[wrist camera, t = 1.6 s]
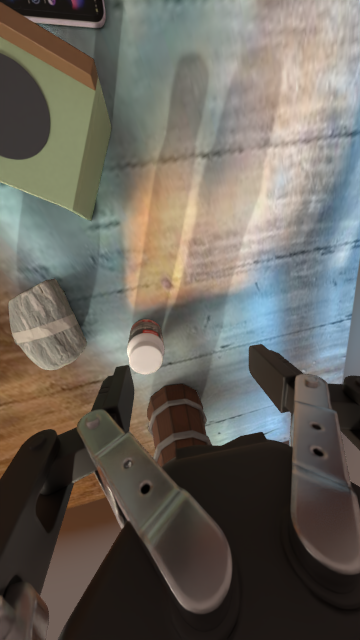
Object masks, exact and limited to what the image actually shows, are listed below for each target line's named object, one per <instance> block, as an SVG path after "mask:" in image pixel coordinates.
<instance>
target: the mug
mask: <svg viewBox="0 0 360 640" xmlns="http://www.w3.org/2000/svg"><path fill="white" fill-rule="evenodd" d="M147 417H148V419H149V421H150V422H149V426H148V430H149V432H150V433H151V435H152V437H153V439H154V444H155V450H156V451H155V454H154V457H153V458H154V460H155V461H156V462H157V463H158V464H159V465H160V466H161V467H162V466H163V465H164V464H165V463H167V462H168V461H170V460H171V459H173V458H175V457H176V454H175V449H177V448H182V447H188V446H193V445H212V444H211V442H210V440H209V437H208V436H206V431H205V423H206V421H207V419H206V416H205V414H204V412H203V406H202V403H201V401H200V398H199V396H198V393H197V391H196V390H195V389H192V388H190V387H188V386H186V385H184V384H177V385H169V386H164V387H163V388H162V389H160V390H159V391H158V392H156V393H155V394H154V395H153V396H151V399H150V403H149V406H148V409H147Z"/></svg>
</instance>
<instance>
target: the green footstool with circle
mask: <svg viewBox="0 0 360 640" xmlns="http://www.w3.org/2000/svg"><path fill="white" fill-rule="evenodd" d="M111 129H112V127H111V123H110V120H109V116H108V112H107V108H106V104H105V100H104V96H103V93H102V89H101V85H100V81H99V78H98V74H97V70H96V66H95V62H94V59H93V58H91V57H89V56H88V55H86V54H85V53H83V52H81V51H80V50H78V49H76V48H75V47H73V46H72V45H70V44H68V43H67V42H65V41H63V40H62V39H60V38H59V37H57V36H55V35H54V34H52V33H50V32H49V31H47V30H46V29H44V28H42V27H41V26H39V25H37V24H36V23H34V22H32V21H31V20H29V19H28V18H26V17H24V16H23V15H21V14H19V13H18V12H16V11H15V10H13V9H11V8H10V7H8V6H6V5H5V4H3V3H2V2H0V182H1V183H4V184H6V185H9V186H11V187H14V188H16V189H19V190H21V191H24V192H26V193H29V194H31V195H34V196H36V197H39V198H41V199H44V200H46V201H49V202H51V203H54V204H56V205H59V206H61V207H64V208H66V209H68V210H70V211H72V212H73V213H75V214H77V215H79V216H81V217H82V218H85V219H87V220H90V221H91V220H92V216H93V211H94V206H95V202H96V197H97V193H98V188H99V184H100V179H101V175H102V170H103V165H104V161H105V156H106V152H107V147H108V143H109V138H110V133H111Z"/></svg>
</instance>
